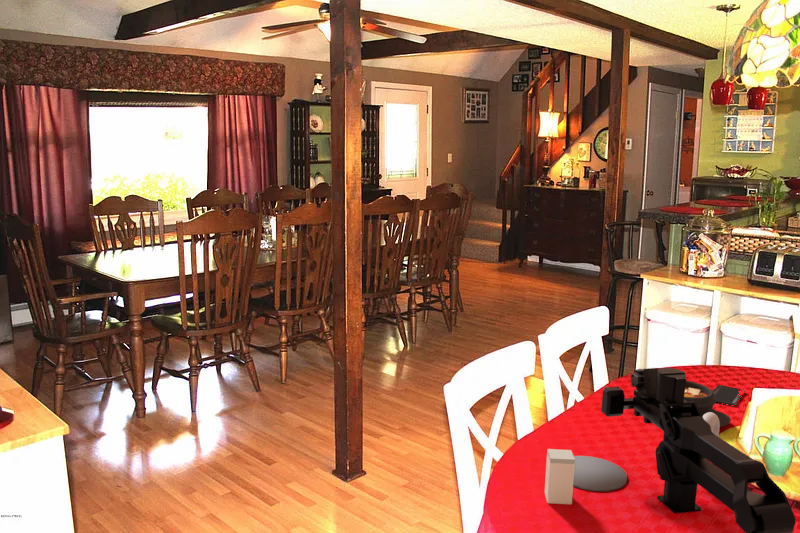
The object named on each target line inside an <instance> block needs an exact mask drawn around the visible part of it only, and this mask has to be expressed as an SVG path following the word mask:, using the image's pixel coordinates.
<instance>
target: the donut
mask: <svg viewBox="0 0 800 533" xmlns="http://www.w3.org/2000/svg"><path fill="white" fill-rule="evenodd" d="M702 417H703V419H704V420H705V421H706V422H707V423H708V424H709V425H710V426H711V430H712V433H714V434H715V435H716V436H718V437H720V436H719V435H720V428H721V427H720V422H719V418H718V416H717V415H716V414H714V413H712V412H708V413H706V414H704V415H703V416H702Z"/></svg>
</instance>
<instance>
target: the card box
mask: <svg viewBox="0 0 800 533" xmlns="http://www.w3.org/2000/svg"><path fill="white" fill-rule="evenodd" d="M546 451H547V452H546V465H545V480H544V482H545V483H544V496H545V500H546V503H547V504H556V505H557V504H558V505H572V504H573V495H574V494H573V490H574V489H573V488H574V486H573V480H574V467H575V458H574V456H575V455H574V453H573V452H572V449H555V448H547V450H546Z"/></svg>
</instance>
